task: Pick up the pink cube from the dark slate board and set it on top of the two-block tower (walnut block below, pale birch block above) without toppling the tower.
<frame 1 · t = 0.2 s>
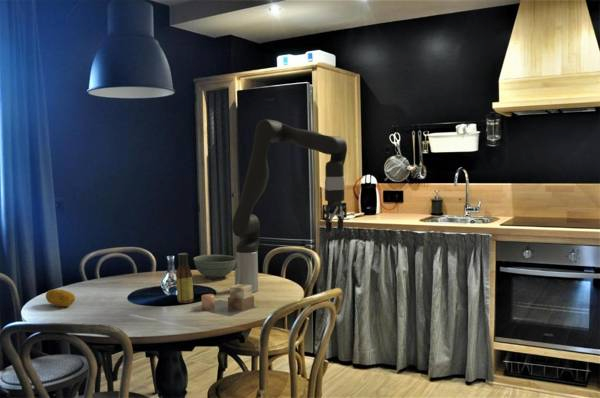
hand: (334, 230, 221), 29 cm above the table, fingers open, 8 cm apart
sauce bottle: (185, 303, 228), on the table
slate board: (224, 309, 217), on the table
walnut block: (241, 307, 218), point 1 cm above the table, touching birch block, slate board
pink cube: (208, 308, 216), point 1 cm above the table, touching slate board
birch block: (241, 296, 218), point 5 cm above the table, touching walnut block
bowl: (215, 278, 277), on the table
potato: (60, 306, 225), on the table
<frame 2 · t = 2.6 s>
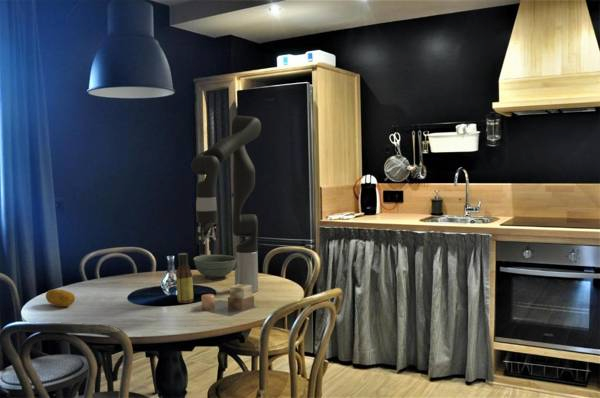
hand: (207, 252, 215), 22 cm above the table, fingers open, 8 cm apart
nothing on the table moved.
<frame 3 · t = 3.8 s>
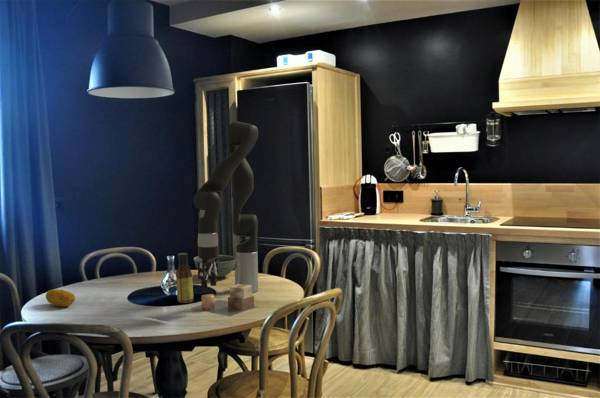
hand: (208, 287, 215), 9 cm above the table, fingers open, 8 cm apart
nothing on the table moved.
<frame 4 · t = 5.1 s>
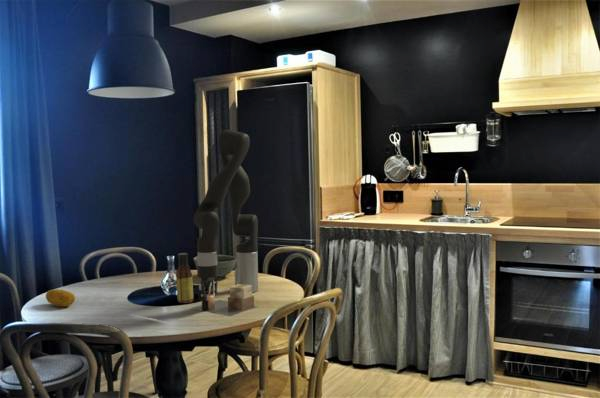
hand: (208, 308, 216), 1 cm above the table, fingers closed on pink cube, 4 cm apart
pink cube: (208, 308, 216), point 1 cm above the table, touching gripper, slate board
everything else where it was.
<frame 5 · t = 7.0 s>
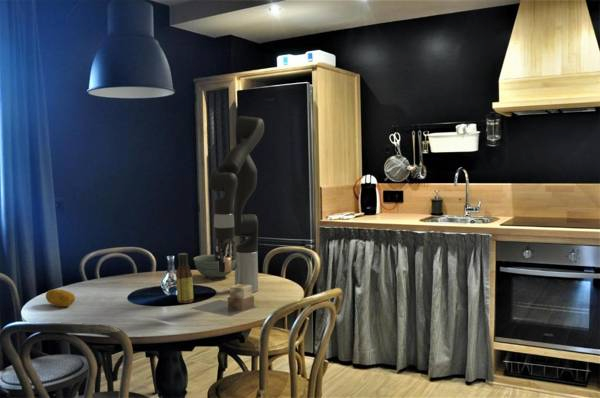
hand: (225, 270, 217), 15 cm above the table, fingers closed on pink cube, 4 cm apart
pink cube: (224, 270, 217), point 15 cm above the table, touching gripper
everything else where it was.
when the fingers open (10 cm above the table, at t = 8.8 s): pink cube stays where it is, resting on birch block.
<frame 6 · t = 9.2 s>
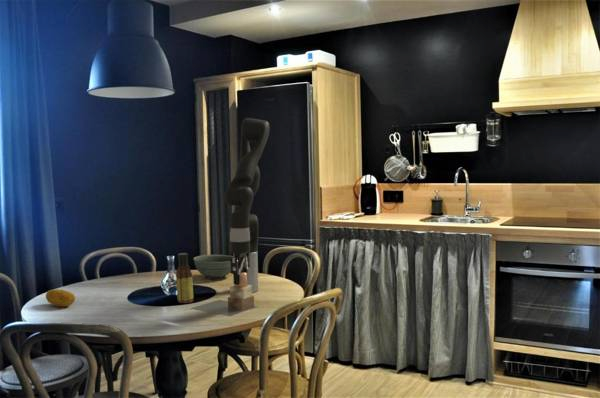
hand: (240, 282, 217), 10 cm above the table, fingers open, 8 cm apart
pink cube: (240, 286, 217), point 9 cm above the table, touching birch block
birch block: (241, 296, 218), point 5 cm above the table, touching pink cube, walnut block
everything else where it was.
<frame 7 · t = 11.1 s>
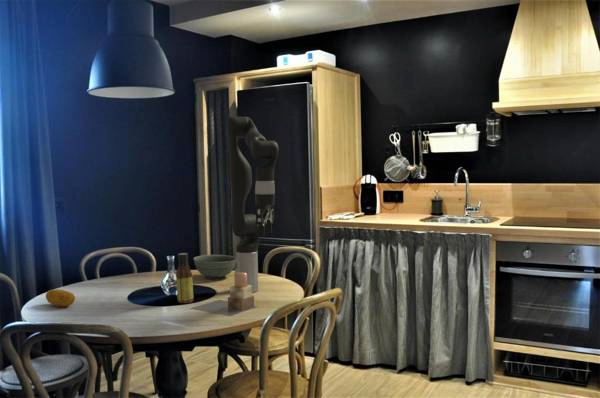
hand: (265, 234, 222), 28 cm above the table, fingers open, 8 cm apart
nothing on the table moved.
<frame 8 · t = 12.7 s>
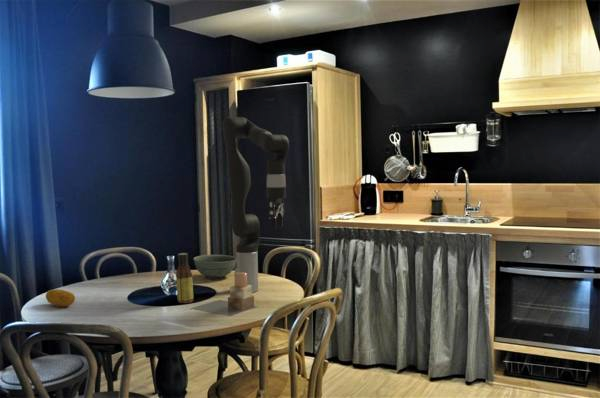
hand: (276, 227, 225), 30 cm above the table, fingers open, 8 cm apart
nothing on the table moved.
at the end: pink cube 0.0 cm off-centre on the birch block, point 4.0 cm above the birch block's base; pink cube tilted 0°; birch block tilted 0° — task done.
